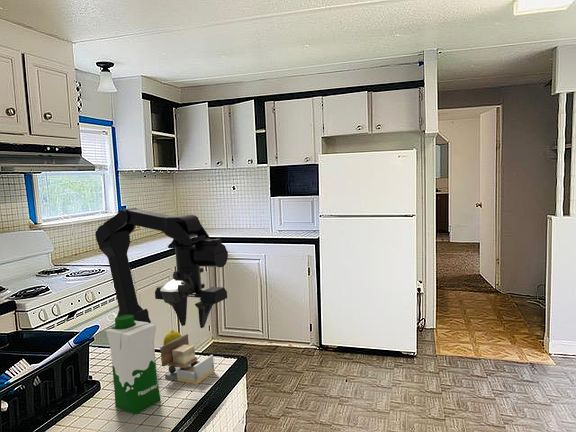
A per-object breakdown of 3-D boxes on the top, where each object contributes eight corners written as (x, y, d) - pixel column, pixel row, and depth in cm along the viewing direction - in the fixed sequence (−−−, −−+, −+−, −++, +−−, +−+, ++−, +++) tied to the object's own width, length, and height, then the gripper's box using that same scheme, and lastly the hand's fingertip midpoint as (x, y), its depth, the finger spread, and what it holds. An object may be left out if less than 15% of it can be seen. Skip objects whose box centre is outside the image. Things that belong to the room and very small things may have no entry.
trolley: (162, 376, 113) (159, 347, 112) (187, 361, 122) (185, 333, 121) (178, 379, 111) (176, 349, 110) (203, 363, 120) (201, 335, 119)
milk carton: (140, 391, 108) (133, 310, 106) (167, 399, 103) (160, 314, 101) (109, 408, 100) (100, 321, 99) (136, 418, 96) (127, 326, 94)
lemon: (181, 360, 125) (179, 333, 125) (162, 361, 125) (159, 334, 125) (186, 353, 131) (184, 326, 130) (167, 354, 131) (165, 327, 130)
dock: (165, 378, 115) (163, 361, 114) (184, 366, 121) (182, 350, 121) (196, 384, 110) (195, 366, 110) (214, 371, 117) (213, 355, 116)
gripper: (136, 271, 109) (141, 333, 111) (198, 274, 101) (203, 342, 102) (167, 262, 119) (172, 319, 121) (226, 264, 111) (230, 326, 112)
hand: (192, 326), depth 114 cm, fingers open, 6 cm apart
